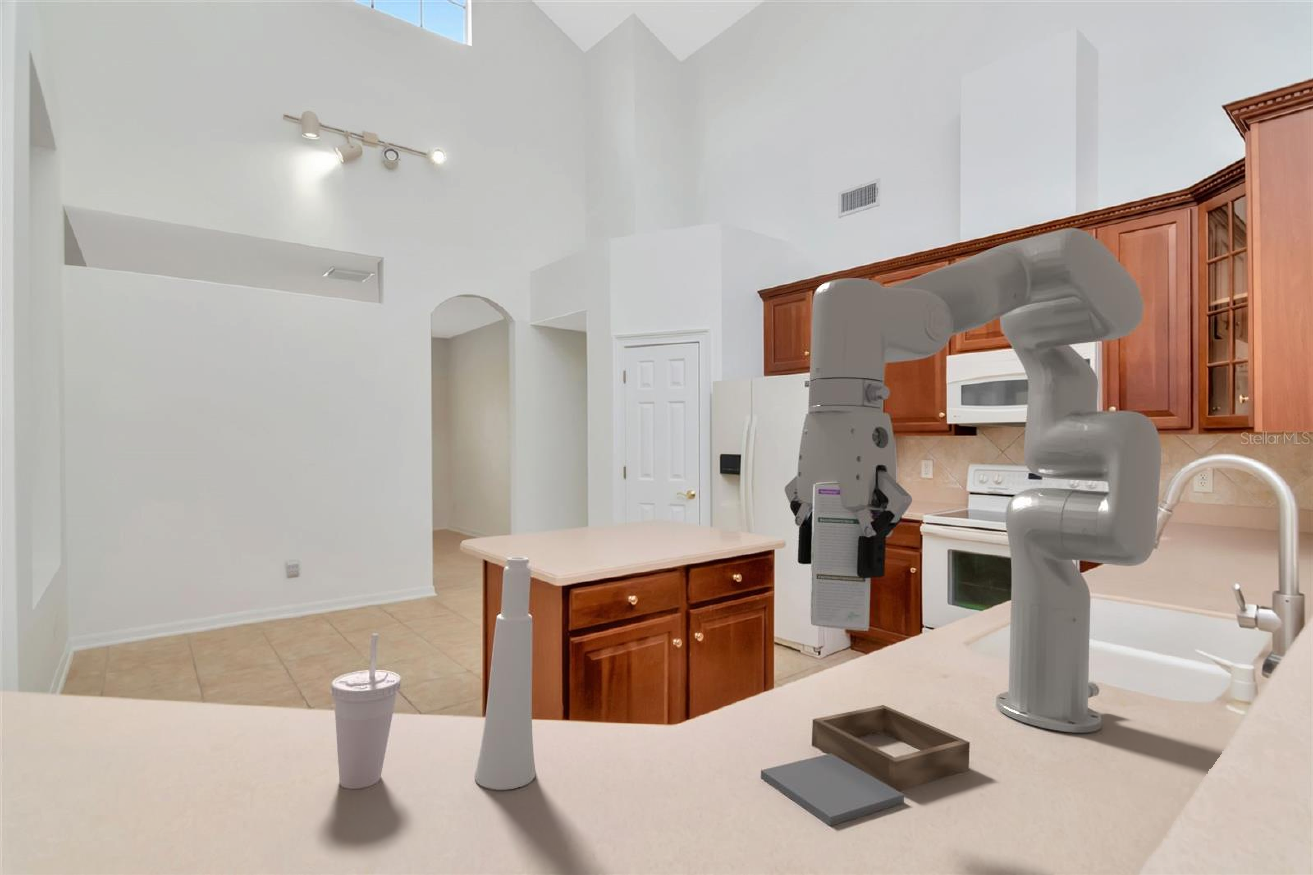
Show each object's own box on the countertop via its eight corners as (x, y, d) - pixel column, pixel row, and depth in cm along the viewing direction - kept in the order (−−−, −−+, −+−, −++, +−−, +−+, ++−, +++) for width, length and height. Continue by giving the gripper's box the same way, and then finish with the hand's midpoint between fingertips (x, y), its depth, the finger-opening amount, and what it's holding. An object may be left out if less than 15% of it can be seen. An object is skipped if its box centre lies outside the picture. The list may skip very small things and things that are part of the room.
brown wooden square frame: (882, 728, 84) (883, 705, 84) (968, 769, 73) (969, 742, 73) (811, 744, 78) (812, 719, 78) (894, 791, 67) (895, 762, 67)
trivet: (830, 760, 74) (830, 753, 74) (903, 802, 65) (904, 794, 65) (760, 778, 69) (761, 770, 69) (829, 826, 60) (830, 817, 60)
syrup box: (870, 632, 64) (875, 483, 65) (808, 626, 66) (814, 480, 66) (864, 618, 70) (869, 482, 70) (807, 613, 71) (812, 479, 72)
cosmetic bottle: (496, 758, 70) (508, 552, 71) (546, 769, 68) (558, 557, 69) (461, 783, 65) (475, 558, 66) (514, 796, 63) (528, 564, 64)
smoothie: (409, 776, 66) (418, 634, 66) (351, 803, 60) (361, 648, 61) (368, 758, 69) (377, 624, 69) (309, 782, 63) (319, 636, 64)
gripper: (941, 398, 63) (935, 583, 62) (813, 407, 78) (807, 556, 77) (887, 391, 59) (880, 587, 59) (764, 402, 74) (757, 558, 74)
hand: (839, 568), depth 68 cm, fingers closed on syrup box, 7 cm apart
